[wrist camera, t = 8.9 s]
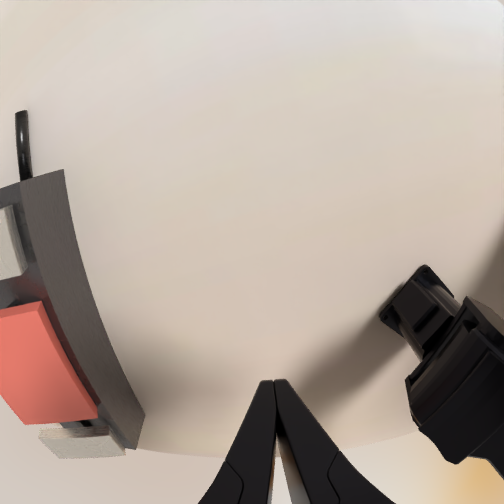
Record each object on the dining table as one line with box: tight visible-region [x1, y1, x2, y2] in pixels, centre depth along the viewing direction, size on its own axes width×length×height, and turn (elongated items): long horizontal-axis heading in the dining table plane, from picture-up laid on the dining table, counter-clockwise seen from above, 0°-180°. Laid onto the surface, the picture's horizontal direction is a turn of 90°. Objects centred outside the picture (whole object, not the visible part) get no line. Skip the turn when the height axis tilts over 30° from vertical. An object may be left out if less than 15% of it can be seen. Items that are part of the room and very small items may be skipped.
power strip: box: [0, 110, 145, 458], centre depth 17 cm, size 10×35×10 cm, turn 3°
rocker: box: [0, 301, 98, 425], centre depth 16 cm, size 9×12×1 cm
